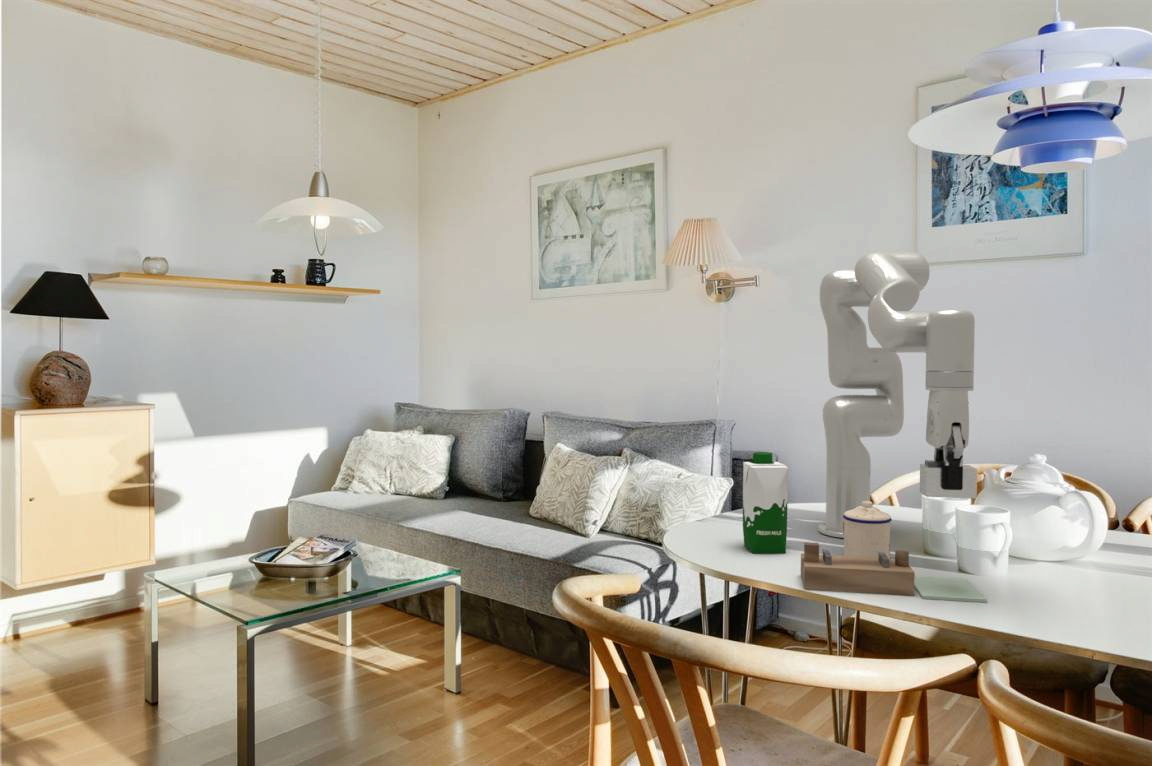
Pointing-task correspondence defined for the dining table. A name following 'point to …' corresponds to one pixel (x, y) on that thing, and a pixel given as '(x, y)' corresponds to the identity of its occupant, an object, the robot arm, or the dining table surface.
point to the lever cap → (933, 481)
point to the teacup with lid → (866, 531)
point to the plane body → (856, 572)
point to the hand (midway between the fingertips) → (947, 485)
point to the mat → (947, 589)
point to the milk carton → (765, 504)
